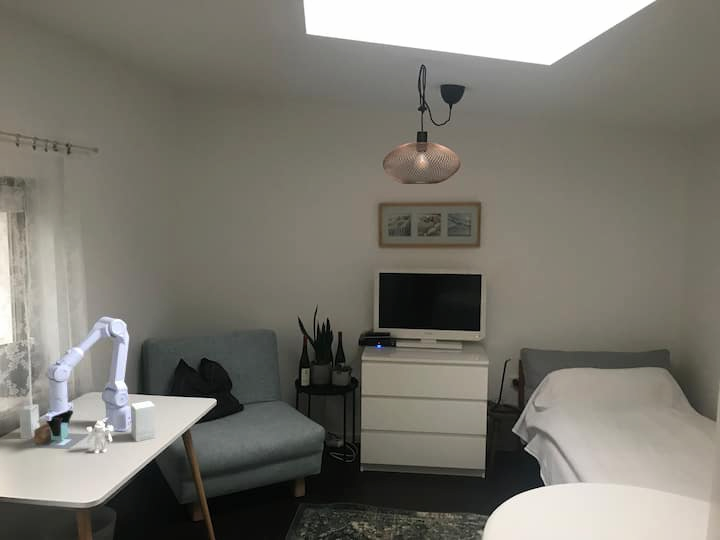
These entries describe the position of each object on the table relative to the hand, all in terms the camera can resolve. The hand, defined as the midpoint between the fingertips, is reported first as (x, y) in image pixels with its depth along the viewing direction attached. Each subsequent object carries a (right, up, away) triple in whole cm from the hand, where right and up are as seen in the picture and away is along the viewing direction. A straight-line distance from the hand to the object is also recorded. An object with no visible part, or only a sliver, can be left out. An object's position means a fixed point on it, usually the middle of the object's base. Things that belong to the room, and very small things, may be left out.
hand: (60, 433), depth 209 cm
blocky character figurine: (+17, -5, -5) cm, 19 cm away
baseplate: (-1, -4, +2) cm, 5 cm away
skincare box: (-15, -4, +7) cm, 17 cm away
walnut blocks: (-6, -3, +3) cm, 8 cm away
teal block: (0, -2, 0) cm, 2 cm away
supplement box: (+27, -4, +9) cm, 29 cm away
